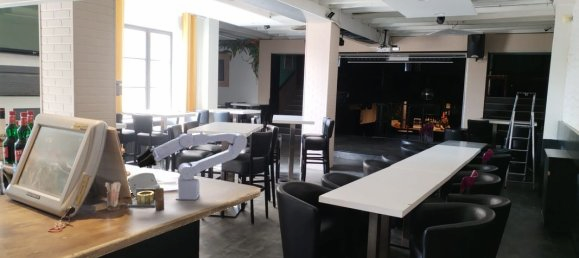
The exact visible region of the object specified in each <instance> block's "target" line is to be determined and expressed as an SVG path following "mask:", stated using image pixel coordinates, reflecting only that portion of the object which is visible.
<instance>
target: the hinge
mask: <svg viewBox="0 0 579 258" xmlns="http://www.w3.org/2000/svg"><path fill="white" fill-rule="evenodd" d="M127 179H128V182H129V186H130V190H131V192H132V193H133V194H132V196H133V195H136V189H137V188H161V186H160V184H158V181H157V179H156V175H155V174H154V173H152V172H141V173H137V174H134V175H131V176H130V177H128V178H127Z"/></svg>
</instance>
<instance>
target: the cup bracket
mask: <svg viewBox="0 0 579 258" xmlns="http://www.w3.org/2000/svg"><path fill="white" fill-rule="evenodd" d="M155 189H156V188H137V189H136V196H135V198H134V199H132V200H133V204H132V205H129V203H127V208H156V206H155Z"/></svg>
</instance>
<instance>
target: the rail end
mask: <svg viewBox="0 0 579 258" xmlns="http://www.w3.org/2000/svg"><path fill="white" fill-rule="evenodd" d="M155 206H156V207H155V211H157V212H158V211H159V212H161V211H164V210H165V191H164V187H160V188H156V189H155Z"/></svg>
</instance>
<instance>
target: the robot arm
mask: <svg viewBox="0 0 579 258" xmlns="http://www.w3.org/2000/svg"><path fill="white" fill-rule="evenodd" d="M210 142H211V143H212V142H228V143H229V145H228V148H227V149H226V150H223V151H221V152H218V153H216V154H213V155H211V156H208V157H205V158H202V159H199V160H197V161H191V162H183V163H181V164H179V166H178V168H177V172H178V174H179V177H178V178H177V179H178V180H177V183H178V184H177V186H178V188H177V189H178V196H177V197H176V198H175V200H178V201H179V200H185V201H186V200H189V201H190V200H191V201H193V200H197V199H198V198H199V197H200V196H201V194H200V180H199V179H198V178H195V176H197V175H199V173H201V172H203V171H205V170H208V169H210V168H213V167H216V166H218V165H221V164H224V163H227V162H229V161H232V160H234V159H236V158H237V157H238V156H239V155H240V154H241V152H242V151H243V150H245V149H246V147H247V144H248V139H247V137H246V135H244V134H241V133H240V132H238V131H237V132H231V131H228V132H222V133H214V134H207V133H206V132H203V131H199V132H198V133H197V132H196V133H195V132H194V133H192V132H189V133H188V134H187V133H180V134H179V135H178V137H175V138H174V139H171V140H169V141H167V142H165V143H162V144H161V145H158V146H157V147H155V146H154V145H152V146H151V147H152V148H151V149H150V147H147V149H146V150H145V151H144V152H143V153H141V154H140V155H139V156H138V157H136V161H137V166H138V167H139V169H142V168H146V167H151V166H152V167H153V166H157V165H158V164H157V163H158V162H160V161H161V160H162V159H165V158H166V157H169V156H171V155H173V154H175V153H177V152H179V151H180V150H182V149H184V148H186V149H188V148H190V147H197V146H203V145H204V146H205V145H207V144H208V143H210Z"/></svg>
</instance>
